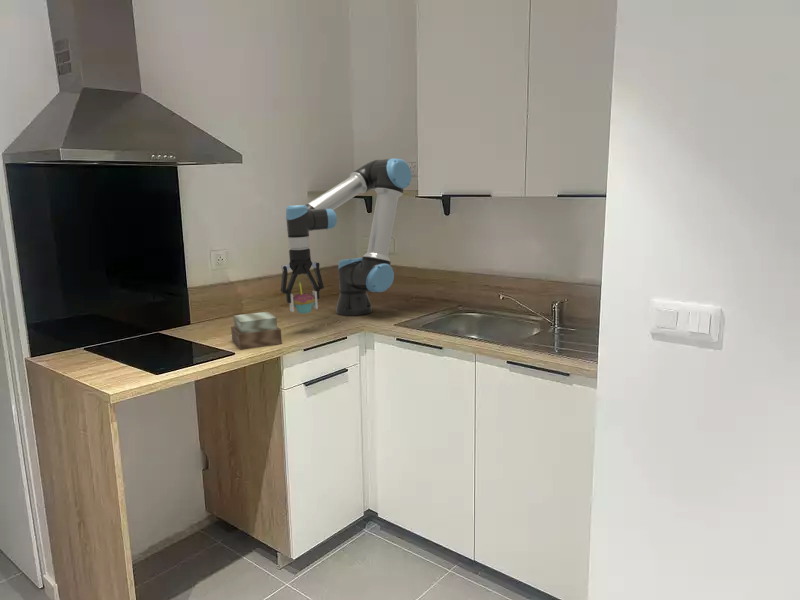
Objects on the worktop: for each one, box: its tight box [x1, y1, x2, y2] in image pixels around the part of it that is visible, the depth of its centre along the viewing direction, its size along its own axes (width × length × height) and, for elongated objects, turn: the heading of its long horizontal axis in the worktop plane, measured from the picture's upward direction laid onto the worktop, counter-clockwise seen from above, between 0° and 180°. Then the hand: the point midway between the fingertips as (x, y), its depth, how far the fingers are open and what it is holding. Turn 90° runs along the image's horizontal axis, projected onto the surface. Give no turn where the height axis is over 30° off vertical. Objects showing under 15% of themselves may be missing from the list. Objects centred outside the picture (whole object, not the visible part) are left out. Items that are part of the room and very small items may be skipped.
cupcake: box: [293, 280, 315, 314], centre depth 212 cm, size 9×8×12 cm
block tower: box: [230, 311, 283, 350], centre depth 199 cm, size 14×14×9 cm
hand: (304, 309), depth 213 cm, fingers closed on cupcake, 8 cm apart
